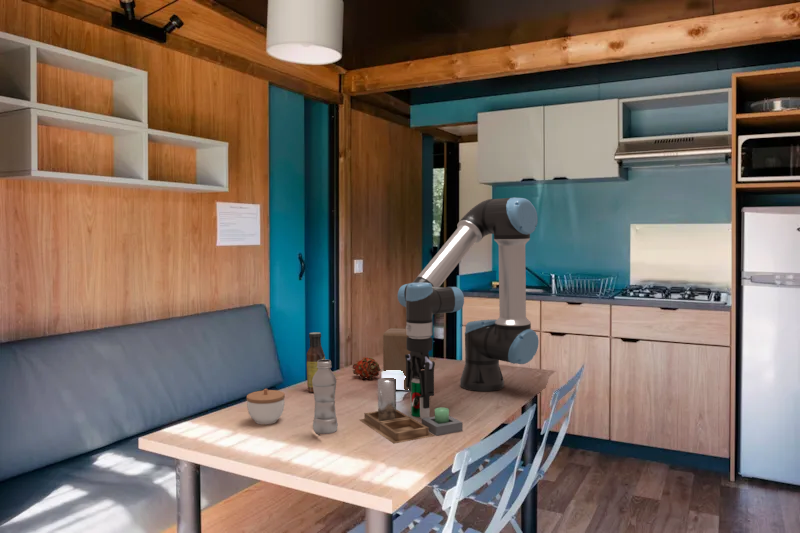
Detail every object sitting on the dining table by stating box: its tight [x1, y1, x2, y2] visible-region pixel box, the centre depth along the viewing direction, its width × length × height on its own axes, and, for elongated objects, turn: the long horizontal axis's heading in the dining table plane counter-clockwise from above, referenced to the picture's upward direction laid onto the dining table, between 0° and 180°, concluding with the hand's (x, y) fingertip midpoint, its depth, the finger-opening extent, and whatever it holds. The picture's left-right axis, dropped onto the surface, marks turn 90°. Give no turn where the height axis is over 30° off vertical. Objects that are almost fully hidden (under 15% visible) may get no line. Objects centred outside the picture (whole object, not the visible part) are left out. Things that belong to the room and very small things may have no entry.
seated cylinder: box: [377, 377, 397, 421], centre depth 171 cm, size 5×5×12 cm
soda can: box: [410, 376, 421, 418], centre depth 178 cm, size 5×5×12 cm
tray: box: [359, 408, 435, 444], centre depth 167 cm, size 12×22×3 cm, turn 27°
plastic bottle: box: [312, 358, 339, 436], centre depth 164 cm, size 6×7×20 cm
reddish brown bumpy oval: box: [352, 356, 381, 380], centre depth 227 cm, size 8×8×12 cm
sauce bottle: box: [306, 331, 326, 393], centre depth 209 cm, size 7×6×20 cm
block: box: [382, 327, 411, 390], centre depth 213 cm, size 10×10×20 cm
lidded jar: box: [246, 388, 286, 425], centre depth 176 cm, size 11×11×9 cm
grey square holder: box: [421, 415, 464, 437], centre depth 165 cm, size 8×8×4 cm
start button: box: [434, 406, 450, 424], centre depth 165 cm, size 4×4×3 cm
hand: (419, 415), depth 178 cm, fingers closed on soda can, 5 cm apart
